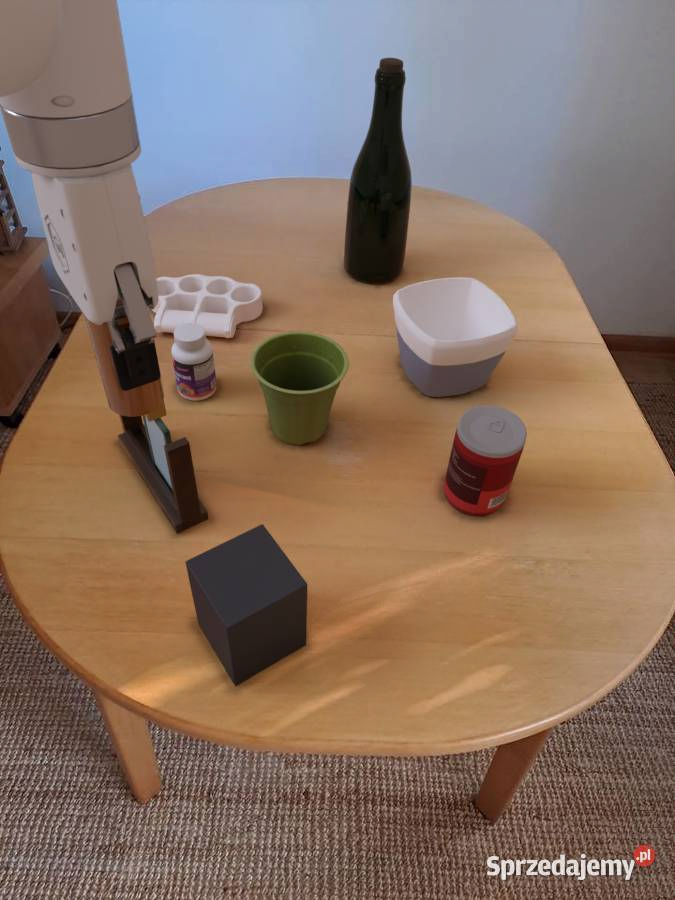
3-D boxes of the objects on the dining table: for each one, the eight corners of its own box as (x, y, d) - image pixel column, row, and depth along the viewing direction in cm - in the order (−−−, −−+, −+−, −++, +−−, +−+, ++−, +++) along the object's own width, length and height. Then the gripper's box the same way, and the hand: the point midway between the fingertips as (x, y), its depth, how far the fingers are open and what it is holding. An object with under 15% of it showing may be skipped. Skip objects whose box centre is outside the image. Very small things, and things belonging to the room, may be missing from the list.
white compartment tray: (134, 336, 101) (160, 283, 111) (253, 345, 101) (267, 292, 111) (130, 317, 99) (157, 265, 109) (252, 327, 98) (267, 274, 108)
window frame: (176, 534, 76) (159, 454, 66) (119, 443, 85) (98, 362, 76) (209, 519, 77) (196, 439, 68) (149, 432, 87) (131, 351, 78)
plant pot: (250, 458, 84) (245, 390, 76) (258, 396, 93) (255, 328, 85) (344, 461, 85) (349, 394, 77) (344, 399, 93) (348, 332, 85)
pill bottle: (170, 387, 93) (159, 329, 86) (202, 371, 96) (195, 314, 89) (191, 407, 91) (183, 349, 84) (224, 390, 93) (218, 333, 86)
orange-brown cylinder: (119, 424, 54) (95, 332, 48) (100, 391, 57) (74, 300, 50) (173, 405, 56) (156, 314, 50) (151, 374, 59) (133, 284, 52)
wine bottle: (407, 260, 120) (434, 53, 96) (396, 290, 113) (422, 75, 89) (351, 250, 122) (363, 45, 98) (336, 280, 114) (346, 66, 91)
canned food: (508, 476, 84) (530, 412, 76) (501, 525, 79) (524, 460, 71) (448, 463, 85) (463, 398, 77) (437, 509, 80) (452, 445, 72)
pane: (172, 504, 76) (153, 413, 66) (147, 466, 80) (126, 375, 70) (188, 496, 77) (172, 406, 67) (163, 459, 81) (144, 369, 71)
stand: (235, 687, 64) (226, 628, 56) (198, 623, 68) (184, 561, 60) (306, 645, 67) (308, 584, 59) (266, 587, 71) (262, 523, 64)
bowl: (464, 333, 105) (478, 270, 97) (514, 394, 95) (534, 330, 87) (374, 350, 101) (380, 285, 93) (416, 416, 91) (428, 350, 83)
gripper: (-25, 94, 44) (49, 324, 57) (54, 197, 34) (120, 446, 48) (88, 78, 47) (133, 300, 60) (189, 169, 38) (217, 410, 51)
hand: (127, 362), depth 54 cm, fingers closed on orange-brown cylinder, 4 cm apart
